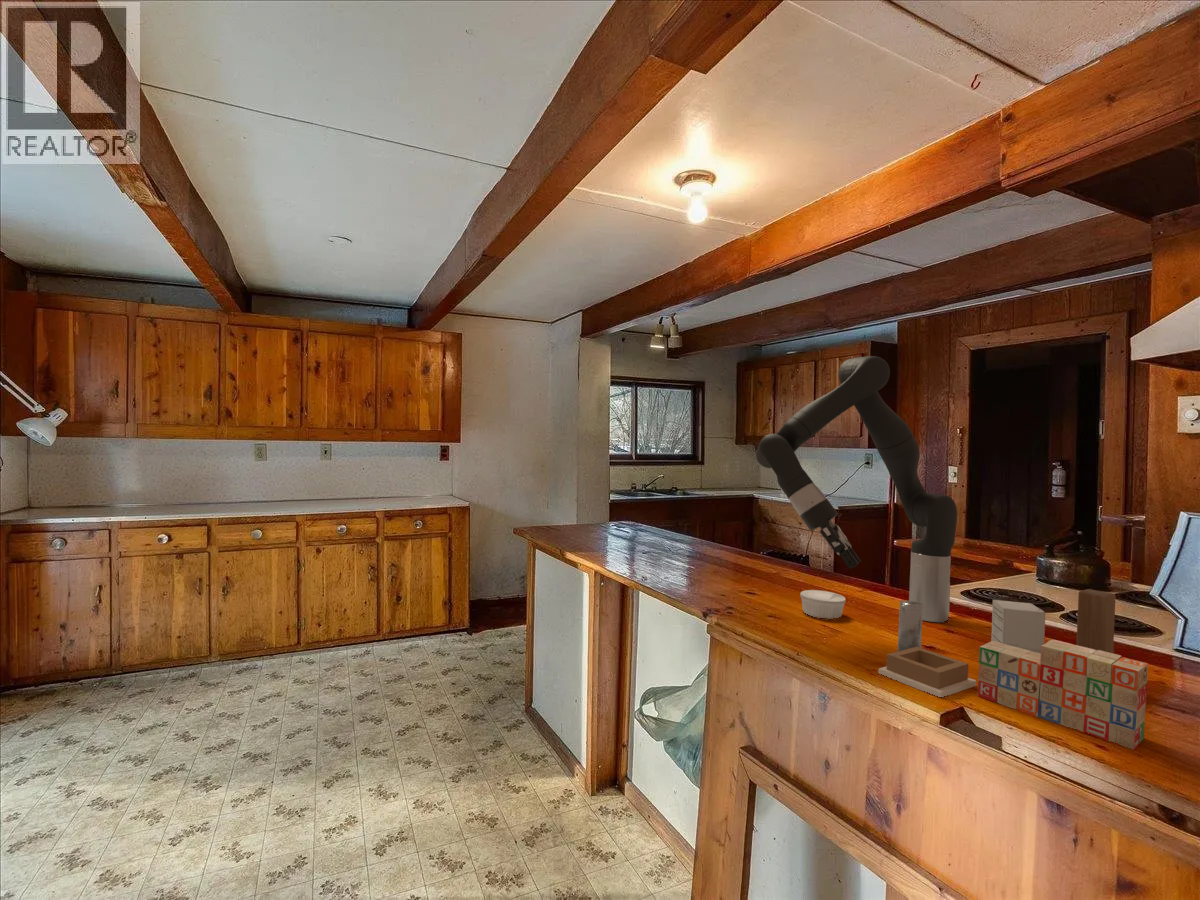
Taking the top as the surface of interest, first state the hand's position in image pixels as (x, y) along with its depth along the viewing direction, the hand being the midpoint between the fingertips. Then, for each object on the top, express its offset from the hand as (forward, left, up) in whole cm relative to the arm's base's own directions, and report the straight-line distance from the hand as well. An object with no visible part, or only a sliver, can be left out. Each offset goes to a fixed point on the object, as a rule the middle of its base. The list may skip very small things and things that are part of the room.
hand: (855, 565), depth 131 cm
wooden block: (-24, +37, -18) cm, 47 cm away
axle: (-4, +11, -18) cm, 21 cm away
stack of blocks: (+2, +39, -18) cm, 43 cm away
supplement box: (-19, +25, -18) cm, 36 cm away
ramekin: (-11, -17, -18) cm, 27 cm away
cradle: (+7, +21, -17) cm, 28 cm away
